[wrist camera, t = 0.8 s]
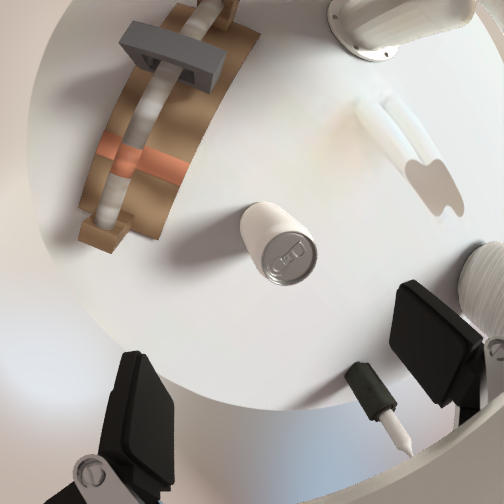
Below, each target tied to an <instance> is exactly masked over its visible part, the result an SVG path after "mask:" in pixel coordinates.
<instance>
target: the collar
mask: <svg viewBox="0 0 504 504" xmlns="http://www.w3.org/2000/svg"><path fill="white" fill-rule="evenodd" d="M119 44H120V45H121V46H122V48H123V49H124V50H125V51H126V53H127V54H128V55H129V56H130V57H131V59H132V60H133V61H134V62H135V64H136V65H137V66H138V67H139V69H142V70H145V71H149V72H152V73H155V71H156V69H157V67H158V66H159V64H160V62H161V60H162V61H165V62H168V63H171V64H174V65H177V66H180V67H182V68H184V69H183V70H182V72H181V74H180V76H179V77H178V79H177V82H180V83H183V84H185V85H188V86H190V87H193V88H195V89H198V90H200V91H203V92H205V93H208V94H210V93H211V91H212V89H213V87H214V86H215V84H216V82H217V80H218V78H219V77H220V73H221V70H222V66H223V63H224V60H225V56H226V53H227V51H225V50H223V49H220V48H218V47H215V46H213V45H210V44H208V43H205V42H202V41H199V40H197V39H194V38H191V37H188V36H185V35H182V34H179V33H176V32H173V31H169V30H166V29H163V28H159V27H156V26H152V25H148V24H144V23H140V22H136V21H133V22H132V23H131V25H130V26H129V28H128V29H127V31H126V32H125V34H124V35H123V37H122V38H121V40H120V41H119Z"/></svg>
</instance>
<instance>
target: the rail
mask: <svg viewBox="0 0 504 504" xmlns="http://www.w3.org/2000/svg"><path fill="white" fill-rule="evenodd" d="M239 1H240V0H197V8H193V7H189V6H186V5H182V4H179V3H177V4H176V6H175V7H174V8H173V10H172V11H171V12H170V14H169V15H168V17H167V18H166V19H165V21H164V22H163V24H162V25H161V26H160V28H163V29H166V30H169V31H173V32H176V33H179V34H182V35H185V36H188V37H191V38H194V39H197V40H199V41H202V42H205V43H208V44H210V45H213V46H215V47H218V48H220V49H223V50H225V51H227V53H226V56H225V60H224V63H223V66H222V70H221V73H220V77H219V78H218V80H217V82H216V84H215V86H214V87H213V89H212V91H211V93H210V94H208V93H205V92H203V91H200V90H198V89H195V88H193V87H190V86H188V85H185V84H183V83H180V82H177V79H178V77H179V76H180V74H181V72H182V70H183V69H184V68H182V67H180V66H177V65H174V64H171V63H168V62H165V61H162V60H161V62H160V64H159V66H158V67H157V69H156V71H155V73H152V72H149V71H145V70H142V69H139V67H138V66H137V65H136V67H135V68H134V70H133V72H132V74H131V76H130V78H129V79H128V81H127V83H126V85H125V87H124V89H123V91H122V93H121V95H120V97H119V99H118V101H117V103H116V105H115V108H114V110H113V112H112V114H111V116H110V119H109V121H108V123H107V126H106V128H105V130H104V132H103V135H102V137H101V140H100V142H99V145H98V147H97V150H96V153H95V156H94V159H93V162H92V165H91V168H90V170H89V174H88V177H87V180H86V183H85V186H84V189H83V193H82V196H81V200H80V203H79V207H78V208H80V209H82V210H85V211H87V212H90V213H92V214H93V215H91V216H90V217H89V218H87V219H86V220H84V221H83V222H82V225H81V229H80V233H79V238H78V240H79V241H81V242H84V243H86V244H88V245H91V246H93V247H95V248H98V249H100V250H102V251H105V252H107V253H110V254H112V253H113V251H114V250H115V249H116V247H117V246H118V245H119V243H120V242H121V241H122V239H123V238H124V237H125V235H126V234H127V233H128V231H129V230H130V229H131V230H134V231H136V232H138V233H141V234H143V235H146V236H149V237H151V238H154V239H156V240H159V237H160V235H161V232H162V229H163V227H164V224H165V222H166V219H167V217H168V214H169V212H170V209H171V207H172V204H173V202H174V199H175V197H176V195H177V192H178V190H179V188H180V185H181V183H182V181H183V179H184V176H185V174H186V172H187V170H188V167H189V165H190V163H191V161H192V159H193V157H194V154H195V152H196V150H197V148H198V146H199V144H200V142H201V140H202V138H203V136H204V134H205V132H206V130H207V128H208V126H209V124H210V122H211V120H212V118H213V116H214V114H215V112H216V110H217V108H218V106H219V105H220V103H221V101H222V99H223V97H224V95H225V94H226V92H227V90H228V88H229V86H230V85H231V83H232V81H233V79H234V78H235V76H236V74H237V72H238V71H239V69H240V67H241V66H242V64H243V62H244V61H245V59H246V57H247V56H248V54H249V52H250V51H251V49H252V48H253V46H254V44H255V43H256V41H257V40H258V38H259V37H260V35H261V34H260V33H257V32H255V31H253V30H251V29H249V28H246V27H244V26H242V25H239V24H237V23H234V22H233V19H234V16H235V13H236V10H237V7H238V4H239Z"/></svg>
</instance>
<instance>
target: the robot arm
mask: <svg viewBox="0 0 504 504" xmlns="http://www.w3.org/2000/svg"><path fill="white" fill-rule="evenodd" d="M477 1H479V2H480V3H481V4H482V5H483V6H484V7H485V8H486V10H487V11H488V13H489V14H490V15H491V16H492V18H493V19H494V21H495V22H496V24H497V26H498V27H499V29H500V30H501V32H502V34H503V36H504V0H333V1H332V2H331V3H330V5H329V7H328V10H327V18H328V22H329V25H330V28H331V30H332V32H333V33H334V35H335V37H336V38H337V39H338V40H339V42H340V43H341V44H342V45H343V46H344V47H345V48H346V49H348V50H349V51H350V52H352V53H353V54H355V55H356V56H358V57H360V58H362V59H365V60H368V61H372V62H381V61H385V60H388V59H390V58H392V57H393V56H394V55H395V54H396V53H397V51H398V48H399V45H401V44H404V43H407V42H410V41H413V40H416V39H420V38H423V37H426V36H430V35H433V34H437V33H441V32H444V31H449V30H452V29H457V28H460V27H463V26H465V25H466V24H468V23H469V22H470V20H471V19H472V17H473V15H474V12H475V6H476V2H477ZM482 340H483V337H482V336H481V335H480V334H479V333H478V332H477V331H476V330H475V329H473V328H472V327H471V326H470V325H469V324H468V323H467V322H466V321H464V320H463V319H462V318H461V317H460V316H459V315H457V314H456V313H455V312H454V311H453V310H452V309H450V308H449V307H448V306H447V305H446V304H444V303H443V302H442V301H441V300H440V299H438V298H437V297H436V296H435V295H433V294H432V293H431V292H430V291H429V290H427V289H426V288H425V287H423V286H422V285H421V284H420V283H418V282H417V281H416V280H410V281H407V282H405V283H402V284H400V286H399V289H398V290H397V292H396V300H395V307H394V314H393V321H392V327H391V333H390V338H389V344H390V347H391V349H392V350H393V351H394V352H395V354H396V355H397V356H398V357H399V359H400V360H401V361H402V362H403V364H404V365H405V366H406V367H407V369H408V370H409V371H410V373H411V374H412V375H413V376H414V378H415V379H416V380H417V382H418V383H419V384H420V385H421V387H422V388H423V389H424V391H425V392H426V393H427V394H428V396H429V397H430V398H431V400H432V401H433V402H434V403H435V404H439V406H440V407H441V408H443V407H445V406H446V405H448V404H449V403H451V402H452V400H453V402H454V403H455V404H456V405H455V417H454V427H453V431H452V432H451V433H450V434H448V435H447V436H445V437H444V438H442V439H441V440H439V441H438V442H436V443H435V444H433V445H431V446H430V447H428V448H427V449H425V450H423V451H422V452H420V453H418V454H417V455H415V456H413V457H411V458H409V459H408V460H406V461H404V462H402V463H400V464H398V465H396V466H395V467H393V468H391V469H389V470H387V471H385V472H382V473H380V474H378V475H376V476H374V477H372V478H369V479H367V480H365V481H362V482H360V483H358V484H355V485H353V486H350V487H348V488H345V489H342V490H340V491H337V492H334V493H331V494H328V495H325V496H322V497H319V498H316V499H312V500H309V501H306V502H302V503H298V504H504V337H501V336H492V337H490V338H488V339H487V340H486V342H485V344H483V343H482ZM73 479H74V481H73V482H72V483H71V484H69V485H68V486H67V487H65V488H64V489H62V490H61V491H60V492H58V493H57V494H56V495H54V496H53V497H51V498H50V499H48V500H47V501H46V502H45V503H44V504H163V503H162V502H161V501H160V491H171V485H173V484H174V482H175V478H174V403H173V400H172V398H171V396H170V395H169V393H168V392H167V390H166V388H165V387H164V385H163V383H162V382H161V380H160V378H159V377H158V375H157V373H156V371H155V370H154V368H153V366H152V364H151V363H150V361H149V359H148V357H147V356H146V354H141V352H140V351H131V352H125V353H123V354H122V357H121V361H120V365H119V369H118V372H117V376H116V380H115V384H114V389H113V390H112V391H111V393H110V396H109V400H108V405H107V409H106V414H105V418H104V423H103V428H102V433H101V438H100V444H99V450H98V455H94V454H90V455H85V456H83V457H82V458H80V459H79V460H78V461H77V462H76V464H75V466H74V469H73Z"/></svg>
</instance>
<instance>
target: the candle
mask: <svg viewBox="0 0 504 504" xmlns="http://www.w3.org/2000/svg"><path fill="white" fill-rule="evenodd" d="M344 377H345V379H346V381H347V383H348V384H349V386H350V388H351V389H352V391H353V393H354V394H355V396H356V398H357V399H358V401H359V403H360V404H361V406H362V407H363V409H364V411H365V413H366V414H367V416H368V418H369V420H371V421H373V420H375V421H376V422H378V421H379V422H380V421H381V423H382V424H383V426H384V428H385V429H386V431H387V432H388V434H389V436H390V437H391V439H392V441H393V442H394V444H395V446H396V447H397V449H398V450H401V451H404V452H405V453H406V454H407V455H409V456H410V458H411V457H413V456H414V455H413V453H412V448H411V441H412V440H411V439H410V437H409V436H408V434H407V432H406V431H405V429H404V428H403V426H402V425H401V423H400V422H399V420H398V419H397V417H396V415H395V414H394V411H395V409H396V408H395V407H396V406H397V402H396V401H395V399H394V398H393V396H392V395H391V394H390V392H389V391H388V389H387V388H386V386H385V385H384V384H383V382H382V381H381V379H380V378H379V377H378V375H377V374H376V372H375V371H374V370H373V368H372V367H371V365H370V364H369V363H360V362H356V363H354V364H353V365H352V367H351V368H350V369H349V370H348V372H347V373H346V374H345V376H344Z"/></svg>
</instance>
